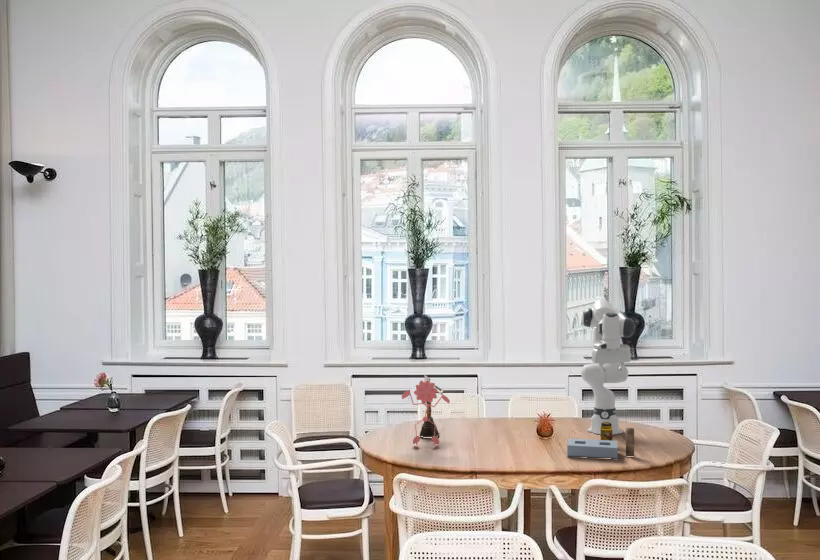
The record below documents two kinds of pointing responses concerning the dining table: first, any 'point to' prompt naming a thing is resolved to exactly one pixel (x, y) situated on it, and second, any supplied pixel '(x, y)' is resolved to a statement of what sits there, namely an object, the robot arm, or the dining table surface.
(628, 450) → the walnut pin
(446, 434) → the dining table surface
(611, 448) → the bore block
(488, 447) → the dining table surface
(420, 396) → the pink flower figurine
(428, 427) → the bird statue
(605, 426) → the condiment
